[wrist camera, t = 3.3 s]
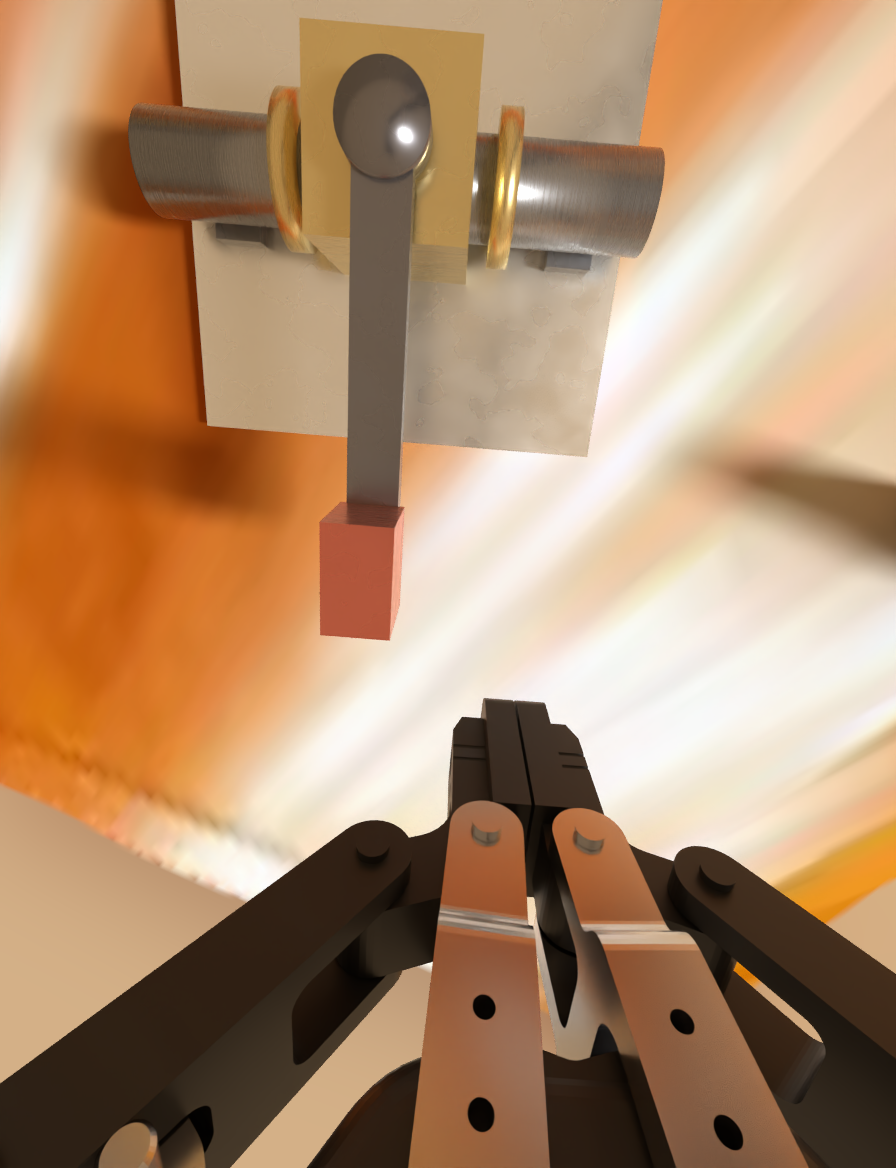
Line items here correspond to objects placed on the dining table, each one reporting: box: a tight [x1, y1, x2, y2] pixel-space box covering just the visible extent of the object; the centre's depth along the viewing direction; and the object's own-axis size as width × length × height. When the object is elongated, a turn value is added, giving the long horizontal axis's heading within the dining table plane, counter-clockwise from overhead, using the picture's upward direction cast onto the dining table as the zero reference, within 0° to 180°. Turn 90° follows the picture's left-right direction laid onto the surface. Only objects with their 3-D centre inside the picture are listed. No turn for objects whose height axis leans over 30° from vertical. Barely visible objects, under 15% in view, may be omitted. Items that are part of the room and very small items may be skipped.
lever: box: [320, 54, 433, 641], centre depth 22 cm, size 21×4×5 cm, turn 176°
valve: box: [128, 0, 665, 457], centre depth 26 cm, size 24×23×10 cm
